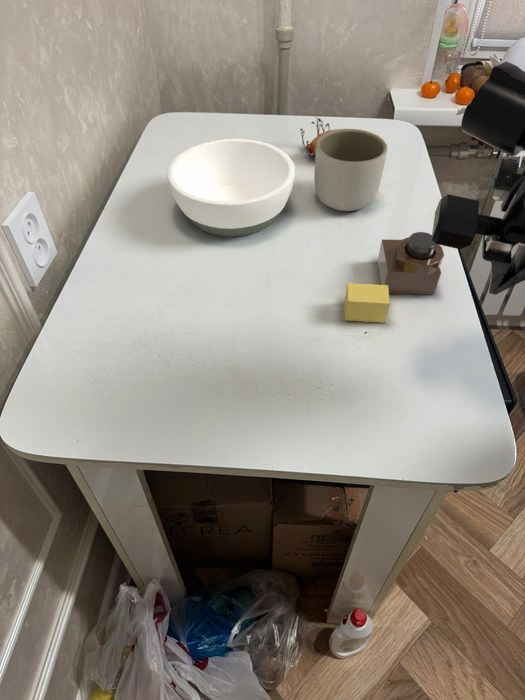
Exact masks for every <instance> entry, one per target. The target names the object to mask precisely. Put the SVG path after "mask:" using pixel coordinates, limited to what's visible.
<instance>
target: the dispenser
mask: <svg viewBox="0 0 525 700" xmlns="http://www.w3.org/2000/svg"><path fill="white" fill-rule="evenodd" d="M409 238H410V236H408V237H405V238H403V239H381V242H380V246H379V252H378V257H377V266H378V272H379V279H380V285H388V291H389V295H390V294H395V295H397V294H399V295H435V292H436V289H437V287H438V284H439V281H440V278H441V275H442V271H441V265H442V262H443V260H444V258H445V253H444V250H443V247H442V245H438V244H436V247H435V250H434V253H433V256H432V258H431V259H429V260H417V259H415V258H412V257H410V256H409V255H408V254H407V253H406V249H407V245H408V241H409Z"/></svg>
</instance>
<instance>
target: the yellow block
mask: <svg viewBox="0 0 525 700" xmlns="http://www.w3.org/2000/svg"><path fill="white" fill-rule="evenodd" d="M390 301H391V300H390V293H389V291H388V285H381V284H374V283H372V284H371V283H358V282H357V283H356V282H355V283H354V282H347V284H346V289H345V296H344V301H343V303H344V305H343V306H344V321H350V322H351V321H352V322H364V323H365V322H367V323H383V324H384V323H386V320H387V316H388V313H389V309H390V306H391V305H390V304H391V302H390Z"/></svg>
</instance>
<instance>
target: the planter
mask: <svg viewBox="0 0 525 700" xmlns="http://www.w3.org/2000/svg"><path fill="white" fill-rule="evenodd" d="M338 129H339V130H334V129H332V130H333V131H330V132H327V133H325V134H323V135H322V136H321V137H320V138H319V139H318V140H317V143H316V155H315V157H314V171H313V173H314V174H313V175H314V177H313V179H314V189H315V192H316V195H317V197H318V199H319V200H320V202H322V204H324V205H325V206H327V207H328V208H331V209H332V210H334V211H335V210H336V211H340V212H354V211H358V210H361V209H363V208H365V207H367V206H368V205H369V204H370V203H372V201H373V200H374V198H375V197H376V196H377V193H378V191H379V188H380V185H381V182H382V177H383V173H384V168H385V163H386V158H387V154H388V153H387V152H388V144H387V142H386V141H385V140H384V139H383V138H382V137H380V135H378V134H376V133H373V132H371V131H367V130H363V129H357V128H338Z"/></svg>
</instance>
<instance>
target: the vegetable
mask: <svg viewBox="0 0 525 700" xmlns="http://www.w3.org/2000/svg"><path fill="white" fill-rule="evenodd" d="M315 119H316V123H315V121H311V124H314V125H315V126H316V130H317V131H316V135H317V136H315V137H314V138H313V139H312V140H311V141H309V140H306V144H305V141H304V135H305V131H306V130H304V128H299V129H300V135H301V139H302V140H301V141H302V145H303V148H304V149H306V154H307V155H308V156H310V157H313V158H315V155H316V143H317V140H318V139H319V138H320V137H321V136H322V135H323V134H325V133H327V132H330V131H333V130H339V129H340V128H335V129H331V128H330V123H329V122H327V123H326V124H325V125H323V123H324V122H323V120H322V119H321V118H319V117H317V116H315ZM324 126H325V127H324ZM326 127H328V130H326ZM320 128H321V130H322V132H321V133H320Z"/></svg>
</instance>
